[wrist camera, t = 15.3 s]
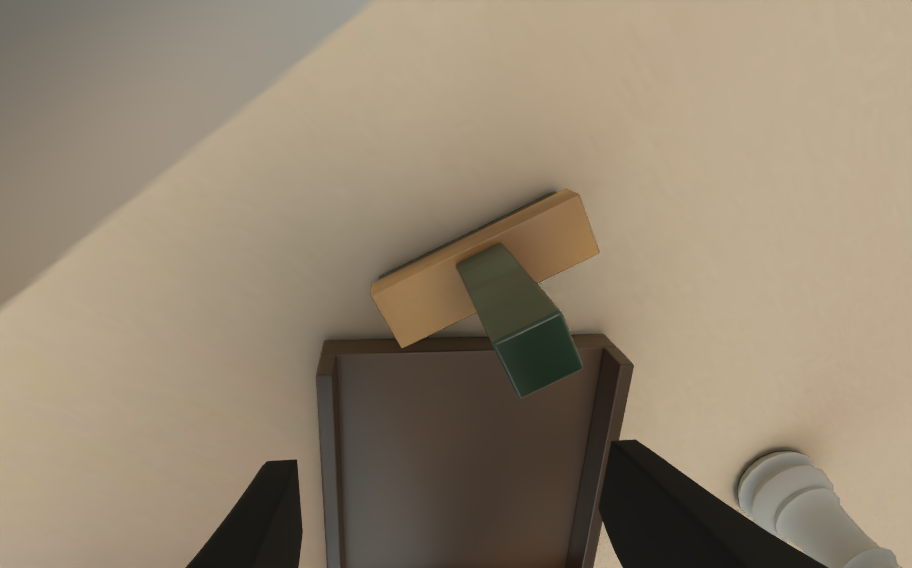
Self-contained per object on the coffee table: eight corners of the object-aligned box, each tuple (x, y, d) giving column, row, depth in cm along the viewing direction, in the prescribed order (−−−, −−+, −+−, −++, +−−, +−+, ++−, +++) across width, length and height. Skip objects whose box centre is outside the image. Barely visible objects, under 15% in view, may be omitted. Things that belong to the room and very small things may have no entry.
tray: (336, 590, 24) (331, 646, 22) (323, 340, 19) (315, 375, 17) (564, 567, 26) (583, 616, 24) (604, 333, 21) (634, 364, 19)
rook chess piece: (817, 484, 27) (984, 630, 19) (745, 524, 27) (883, 683, 20) (797, 431, 25) (971, 569, 18) (721, 475, 25) (862, 628, 18)
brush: (399, 323, 20) (412, 463, 12) (371, 274, 19) (365, 392, 11) (577, 237, 20) (703, 324, 12) (557, 183, 19) (680, 240, 11)
